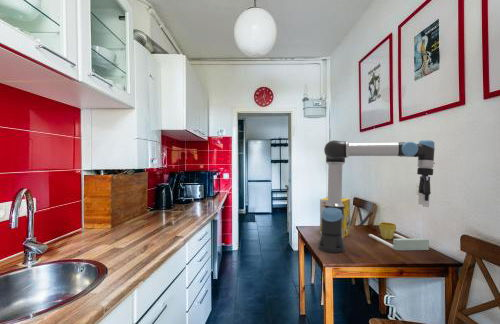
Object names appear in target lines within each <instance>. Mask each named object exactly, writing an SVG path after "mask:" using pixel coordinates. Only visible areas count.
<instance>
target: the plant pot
mask: <svg viewBox="0 0 500 324" xmlns="http://www.w3.org/2000/svg"><path fill="white" fill-rule="evenodd" d="M378 228H379V229H380V230H379V231H380V235H381V239H383V240H393V239H394V236H393V235H394V234H395V231H396V230H397V224H396V223H393V222H387V221H386V222H385V221H381V222H379V223H378Z"/></svg>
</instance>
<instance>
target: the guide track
mask: <svg viewBox="0 0 500 324" xmlns="http://www.w3.org/2000/svg"><path fill="white" fill-rule="evenodd" d="M368 236H369V237H370V238H372V239H374V240H376V241H378V242H380V243H381V244H383V245H385V246H387V247H389V248H391V249H393V250H395V251H429V250H430V239H428V238H427V237H426V238H422V237H421V238H420V237H419V238H413V237H412V238H407V237H405V236H402V235H401V234H397V233H394V235H393V237H395V238H393V239H392V240H393V241H392V243H390V242H388V241H386V240H385V239H383V238H380V237H378V236H376V235H374V234H372V233H368Z"/></svg>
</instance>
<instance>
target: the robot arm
mask: <svg viewBox="0 0 500 324" xmlns="http://www.w3.org/2000/svg"><path fill="white" fill-rule="evenodd" d="M435 147H436V146H435V141H434V140H429V139H425V140H423V139H422V140H420V141H419V142H418V143H415V142H413V141H402V142H401V141H400V142H398V141H395V142H393V141H391V142H386V141H385V142H349V141H348V140H346V141H344V140H342V141H341V140H330V141H328V142H327V143H326V144H325V145H324V148H323V150H324V155H325V163H326V164H327V165H328V167H327V168H328V170H327V177H328V178H327V198H328V202H327V203H326V204H325V208H324V209H323V210H322V213H321V217H322V227H321V231H322V232H321V235H320V238H319V241H318V245H317V246H318V247H317V248H318V249H319V250H321V251H322V252H327V253H335V254H336V253H343V252H344V251H346V244H345V243H344V238H342V222H343V221H344V218H345V215H344V205H343V204H342V197H343V165H344V164H345V163H346V159H347V158H348V157H403V158H404V157H405V158H411V157H412V158H417V167H418V168H417V173H416V174H417V175H420V176H419V185H418V200H417V201H418V205H422V207H423V208H424V207H425V208H429V207H430V195H431V193H432V192H431V176H433V175H434V165H436V163H435V162H434V159H435V150H436V149H435Z"/></svg>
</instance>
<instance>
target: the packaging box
mask: <svg viewBox="0 0 500 324" xmlns="http://www.w3.org/2000/svg"><path fill="white" fill-rule="evenodd" d="M319 202H320V203H319V235H320V234H321V232H322V231H321V227H322V217H321V213H322V210H323V209H324V208H325V204H326V203H327V202H328V197H323V198H321V199H319ZM342 204H343V205H344V215H345V218H344V221H343V222H342V238H343V239H345V238H346V237H347V236H349V235H350V234H351V199H350V198H342ZM349 233H350V234H349ZM348 234H349V235H348ZM345 236H346V237H345ZM344 237H345V238H344Z"/></svg>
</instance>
